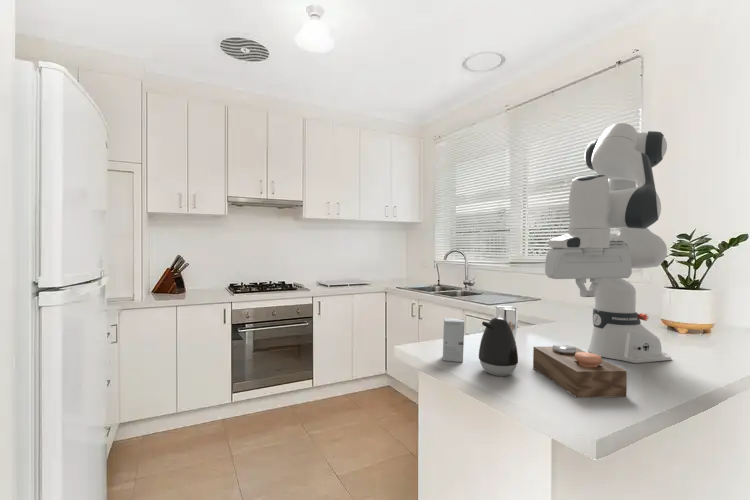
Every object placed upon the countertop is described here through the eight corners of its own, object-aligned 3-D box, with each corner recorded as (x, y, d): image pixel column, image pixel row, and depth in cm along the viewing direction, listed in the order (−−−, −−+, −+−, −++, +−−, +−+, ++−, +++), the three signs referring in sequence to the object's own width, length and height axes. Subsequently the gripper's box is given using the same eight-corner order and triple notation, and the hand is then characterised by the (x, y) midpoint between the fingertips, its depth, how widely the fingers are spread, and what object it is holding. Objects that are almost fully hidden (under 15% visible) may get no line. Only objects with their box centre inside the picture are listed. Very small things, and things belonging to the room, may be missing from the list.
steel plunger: (567, 362, 101) (568, 344, 101) (580, 369, 95) (580, 350, 95) (548, 362, 100) (548, 344, 100) (559, 369, 95) (560, 350, 95)
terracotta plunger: (591, 371, 91) (591, 352, 91) (606, 380, 85) (607, 359, 85) (569, 371, 90) (570, 352, 90) (584, 380, 85) (584, 359, 85)
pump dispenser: (470, 368, 101) (471, 315, 101) (500, 364, 105) (500, 312, 104) (494, 382, 91) (495, 322, 91) (526, 376, 95) (527, 319, 95)
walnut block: (573, 367, 103) (574, 346, 103) (626, 396, 83) (626, 371, 83) (533, 367, 102) (533, 346, 102) (576, 397, 83) (577, 371, 82)
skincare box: (442, 361, 107) (443, 320, 107) (442, 356, 112) (443, 317, 112) (464, 362, 107) (464, 321, 106) (462, 357, 111) (463, 318, 111)
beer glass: (518, 359, 110) (519, 310, 110) (495, 357, 112) (495, 309, 111) (514, 352, 117) (515, 306, 117) (492, 350, 118) (493, 305, 118)
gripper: (619, 240, 92) (618, 294, 92) (542, 240, 91) (541, 295, 91) (639, 240, 86) (638, 298, 86) (556, 241, 84) (555, 299, 85)
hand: (587, 296), depth 89 cm, fingers closed
